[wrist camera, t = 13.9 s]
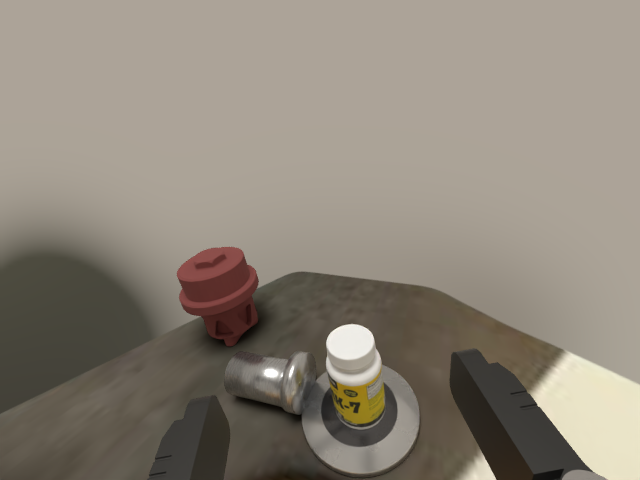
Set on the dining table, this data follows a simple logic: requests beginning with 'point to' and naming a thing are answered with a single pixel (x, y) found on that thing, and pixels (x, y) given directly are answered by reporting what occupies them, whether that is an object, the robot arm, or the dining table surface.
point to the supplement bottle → (355, 376)
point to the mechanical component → (220, 292)
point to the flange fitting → (330, 411)
